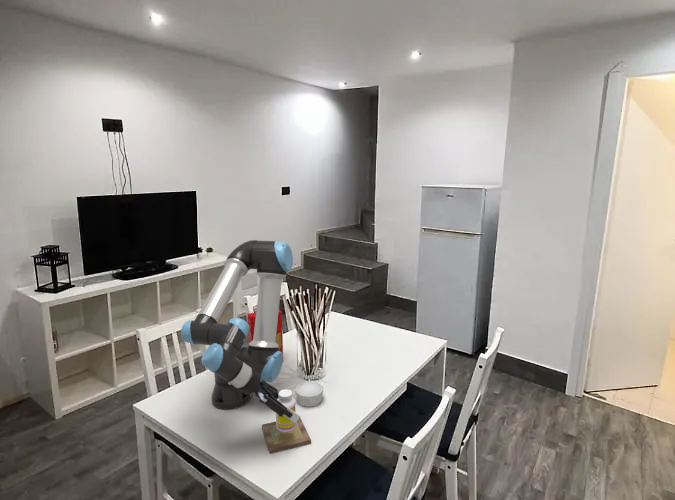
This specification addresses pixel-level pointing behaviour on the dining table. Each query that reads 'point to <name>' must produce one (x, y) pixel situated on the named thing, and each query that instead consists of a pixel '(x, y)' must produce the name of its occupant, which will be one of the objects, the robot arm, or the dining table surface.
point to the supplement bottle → (283, 422)
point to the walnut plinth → (285, 437)
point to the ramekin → (309, 393)
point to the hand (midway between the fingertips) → (294, 413)
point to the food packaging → (279, 335)
